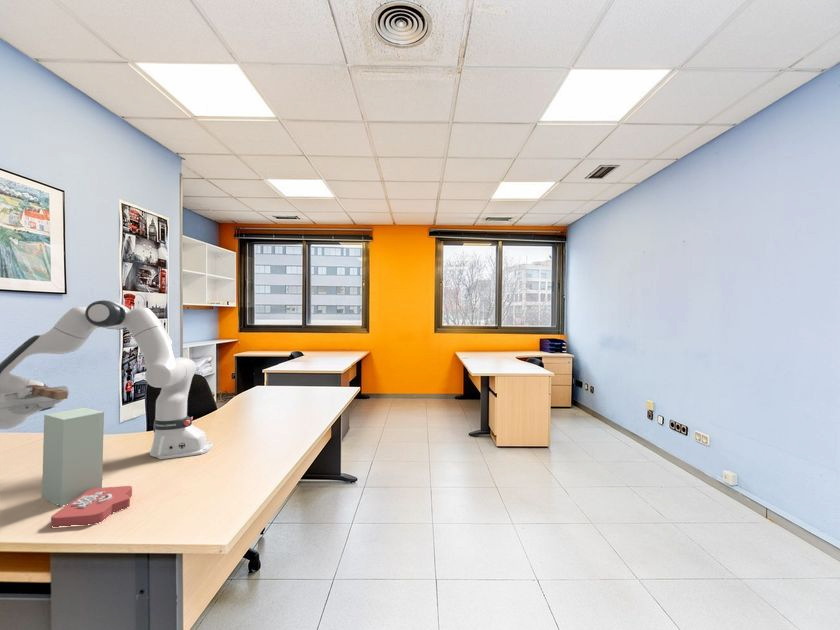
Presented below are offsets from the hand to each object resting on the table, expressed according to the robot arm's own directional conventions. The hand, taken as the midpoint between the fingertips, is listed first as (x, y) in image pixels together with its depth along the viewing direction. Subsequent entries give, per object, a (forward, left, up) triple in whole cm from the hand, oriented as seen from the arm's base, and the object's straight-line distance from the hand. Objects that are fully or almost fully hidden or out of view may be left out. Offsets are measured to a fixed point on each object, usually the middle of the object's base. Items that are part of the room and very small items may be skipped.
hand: (38, 388), depth 126 cm
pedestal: (-19, +16, -31) cm, 40 cm away
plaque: (-32, +27, -32) cm, 53 cm away
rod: (-4, +4, -2) cm, 6 cm away
